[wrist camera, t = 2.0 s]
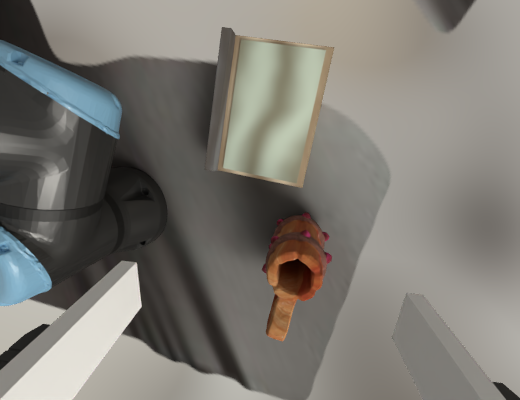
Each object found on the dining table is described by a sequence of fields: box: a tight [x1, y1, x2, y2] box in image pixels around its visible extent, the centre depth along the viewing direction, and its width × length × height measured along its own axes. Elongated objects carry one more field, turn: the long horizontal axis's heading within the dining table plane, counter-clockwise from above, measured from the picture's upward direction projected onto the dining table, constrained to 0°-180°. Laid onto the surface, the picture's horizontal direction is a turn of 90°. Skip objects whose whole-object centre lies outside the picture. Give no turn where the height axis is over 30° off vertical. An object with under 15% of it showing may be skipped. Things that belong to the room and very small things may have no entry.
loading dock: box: [205, 27, 334, 188], centre depth 34 cm, size 14×18×6 cm
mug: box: [262, 212, 332, 341], centre depth 34 cm, size 15×8×15 cm, turn 165°
